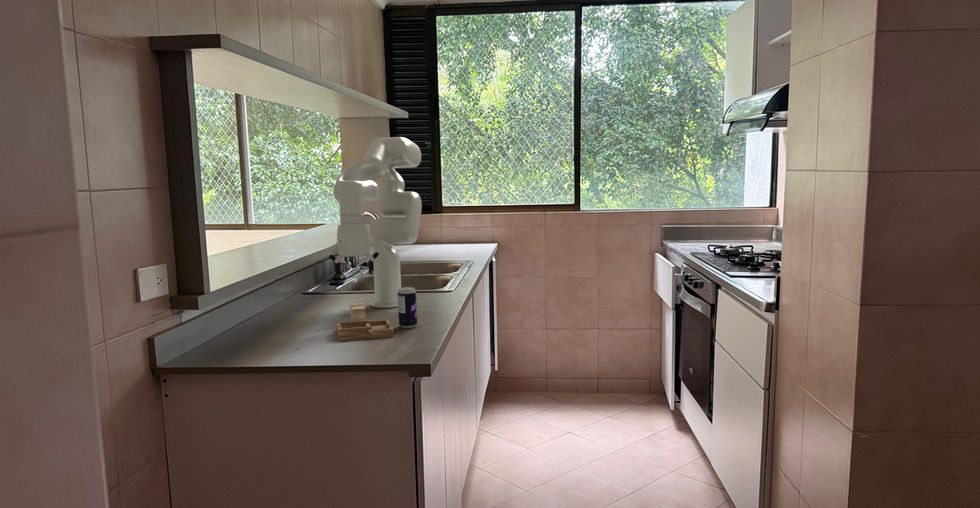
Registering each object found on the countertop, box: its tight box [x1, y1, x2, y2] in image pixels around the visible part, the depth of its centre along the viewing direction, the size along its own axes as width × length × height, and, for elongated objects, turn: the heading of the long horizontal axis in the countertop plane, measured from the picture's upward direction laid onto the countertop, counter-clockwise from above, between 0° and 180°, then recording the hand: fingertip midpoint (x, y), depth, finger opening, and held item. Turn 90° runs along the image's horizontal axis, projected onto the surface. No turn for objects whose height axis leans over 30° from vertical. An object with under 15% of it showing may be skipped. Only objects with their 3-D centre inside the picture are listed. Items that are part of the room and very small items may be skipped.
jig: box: [336, 318, 395, 343], centre depth 194 cm, size 14×16×3 cm
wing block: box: [349, 302, 367, 321], centre depth 207 cm, size 10×4×6 cm, turn 16°
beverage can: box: [397, 286, 418, 329], centre depth 201 cm, size 6×6×12 cm
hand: (355, 274), depth 205 cm, fingers open, 9 cm apart
